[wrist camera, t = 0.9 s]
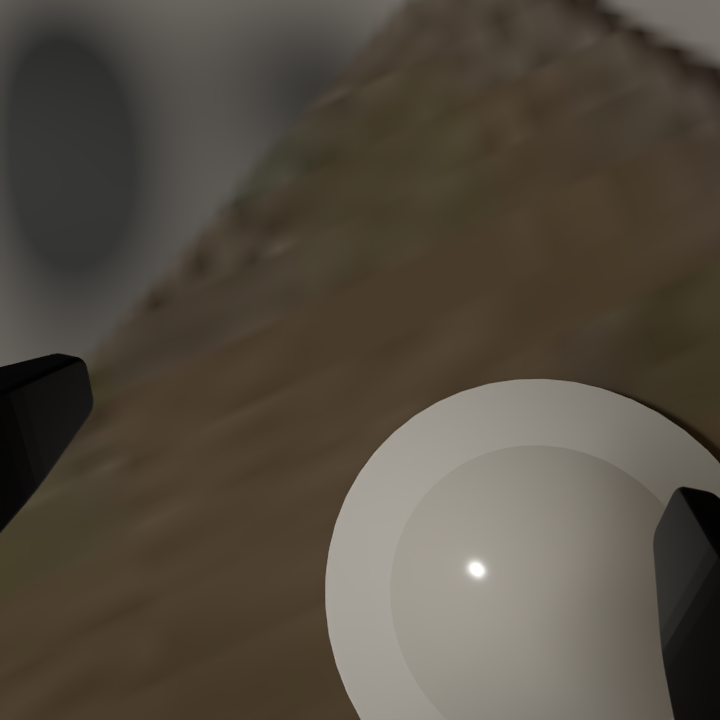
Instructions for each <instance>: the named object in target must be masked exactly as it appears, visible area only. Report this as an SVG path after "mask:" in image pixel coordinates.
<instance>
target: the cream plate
mask: <svg viewBox="0 0 720 720" xmlns="http://www.w3.org/2000/svg"><path fill="white" fill-rule="evenodd" d="M682 486H685V487H689V488H694V489H699V490H704V491H708V492H711V493H714V494H715V495H716V496H718V497H719V498H720V463H719V462H718V461H717V460H716V459H715V458H714V457H713V455H712V454H711V453H710V452H709V451H708V450H707V449H706V448H704V447H703V446H702V445H701V444H700V443H699V442H697V441H696V440H695V439H694V438H693V437H692V436H690V435H689V434H688V433H687V432H686V431H685V430H683V429H682V428H680V427H679V426H677V425H676V424H674V423H673V422H671V421H670V420H668V419H667V418H665V417H664V416H662V415H661V414H659V413H658V412H656V411H654V410H652V409H650V408H648V407H646V406H644V405H642V404H640V403H638V402H636V401H634V400H632V399H630V398H627V397H624V396H621V395H619V394H616V393H613V392H610V391H608V390H605V389H602V388H598V387H593V386H589V385H585V384H580V383H576V382H569V381H559V380H549V379H525V380H511V381H505V382H498V383H491V384H487V385H483V386H480V387H476V388H473V389H469V390H466V391H462V392H460V393H458V394H455V395H453V396H451V397H448V398H446V399H444V400H441V401H439V402H437V403H435V404H434V405H432V406H430V407H429V408H427V409H425V410H424V411H422V412H420V413H419V414H417V415H415V416H414V417H413V418H411V419H410V420H409V421H408V422H406V423H405V424H404V425H403V426H401V427H400V428H399V429H398V430H396V431H395V432H394V433H393V434H392V435H391V436H390V437H389V438H388V439H387V440H386V441H385V442H384V443H383V444H382V445H381V446H380V447H379V448H378V449H377V450H376V451H375V453H374V454H373V455H372V457H371V458H370V459H369V461H368V462H367V463H366V465H365V466H364V468H363V469H362V470H361V472H360V473H359V475H358V476H357V478H356V480H355V482H354V484H353V485H352V487H351V489H350V491H349V493H348V494H347V496H346V498H345V501H344V503H343V506H342V508H341V511H340V514H339V516H338V519H337V521H336V524H335V528H334V532H333V536H332V540H331V544H330V548H329V554H328V562H327V570H326V614H327V622H328V631H329V637H330V641H331V645H332V649H333V653H334V657H335V661H336V665H337V668H338V670H339V673H340V676H341V678H342V681H343V684H344V686H345V689H346V692H347V694H348V696H349V698H350V699H351V701H352V703H353V705H354V707H355V709H356V711H357V713H358V715H359V717H360V719H361V720H674V718H673V713H672V708H671V703H670V697H669V692H668V687H667V682H666V677H665V672H664V666H663V660H662V654H661V644H660V634H659V620H658V607H657V594H656V580H655V567H654V553H653V538H654V533H655V529H656V527H657V525H658V523H659V521H660V519H661V517H662V515H663V513H664V510H665V508H666V506H667V504H668V502H669V500H670V498H671V496H672V494H673V492H674V491H675V490H676V489H677V488H679V487H682Z"/></svg>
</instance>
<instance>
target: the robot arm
mask: <svg viewBox="0 0 720 720" xmlns="http://www.w3.org/2000/svg"><path fill="white" fill-rule="evenodd" d="M92 408H93V395H92V390H91V385H90V380H89V375H88V371H87V366H86V364H85V362H84V361H83V360H82V359H81V358H79V357H75V356H70V355H65V354H60V353H59V354H58V353H56V354H51V355H47V356H43V357H40V358H35V359H31V360H27V361H23V362H19V363H15V364H11V365H7V366H3V367H0V533H1V532H2V530H3V529H4V528H5V527H6V526H7V525H8V523H9V522H10V521H11V520H12V519H13V518H14V516H15V515H16V514H17V513H18V512H19V511H20V509H21V508H22V507H23V506H24V505H25V504H26V502H27V501H28V500H29V499H30V498H31V496H32V495H33V494H34V493H35V491H36V490H37V489H38V488H39V486H40V485H41V484H42V482H43V481H44V479H45V478H46V477H47V475H48V474H49V472H50V471H51V470H52V468H53V467H54V465H55V464H56V462H57V461H58V460H59V458H60V457H61V455H62V454H63V452H64V451H65V450H66V448H67V447H68V445H69V444H70V442H71V441H72V440H73V438H74V437H75V435H76V434H77V432H78V431H79V430H80V428H81V427H82V425H83V424H84V422H85V421H86V420H87V418H88V417H89V415H90V413H91V411H92ZM653 553H654V567H655V580H656V594H657V607H658V620H659V634H660V644H661V654H662V660H663V666H664V672H665V677H666V682H667V687H668V692H669V697H670V703H671V708H672V713H673V718H674V720H720V498H719V497H718V496H716V495H715V494H714V493H711V492H708V491H704V490H699V489H694V488H689V487H685V486H682V487H679V488H677V489H676V490H675V491H674V492H673V494H672V496H671V498H670V500H669V502H668V504H667V506H666V508H665V510H664V513H663V515H662V517H661V519H660V521H659V523H658V525H657V527H656V529H655V533H654V538H653Z"/></svg>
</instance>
